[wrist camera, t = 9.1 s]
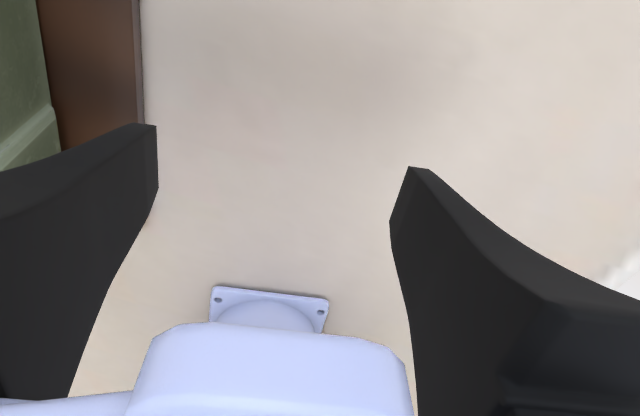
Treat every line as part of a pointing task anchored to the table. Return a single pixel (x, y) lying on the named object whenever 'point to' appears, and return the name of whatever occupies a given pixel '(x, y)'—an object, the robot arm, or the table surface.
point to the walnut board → (92, 65)
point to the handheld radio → (24, 89)
